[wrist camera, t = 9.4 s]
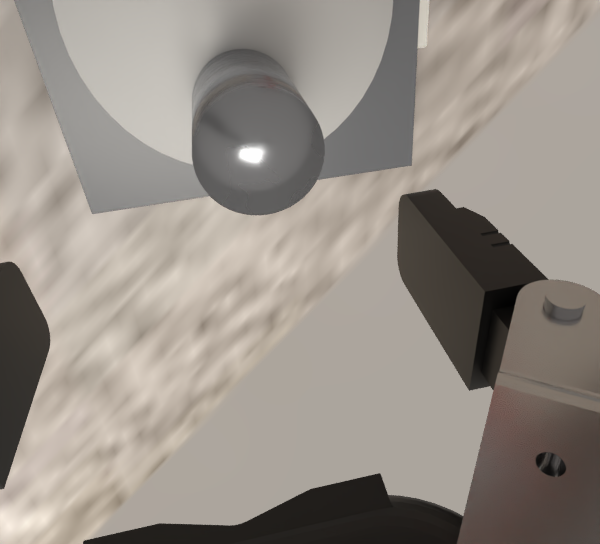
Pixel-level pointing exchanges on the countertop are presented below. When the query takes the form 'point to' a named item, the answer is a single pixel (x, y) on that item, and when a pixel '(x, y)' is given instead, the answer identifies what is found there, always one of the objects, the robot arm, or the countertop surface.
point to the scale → (190, 61)
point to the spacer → (253, 134)
